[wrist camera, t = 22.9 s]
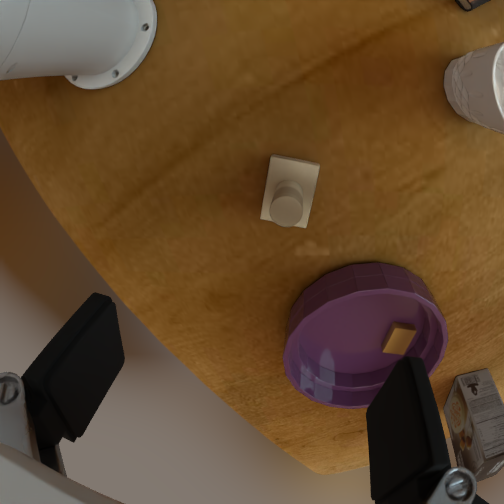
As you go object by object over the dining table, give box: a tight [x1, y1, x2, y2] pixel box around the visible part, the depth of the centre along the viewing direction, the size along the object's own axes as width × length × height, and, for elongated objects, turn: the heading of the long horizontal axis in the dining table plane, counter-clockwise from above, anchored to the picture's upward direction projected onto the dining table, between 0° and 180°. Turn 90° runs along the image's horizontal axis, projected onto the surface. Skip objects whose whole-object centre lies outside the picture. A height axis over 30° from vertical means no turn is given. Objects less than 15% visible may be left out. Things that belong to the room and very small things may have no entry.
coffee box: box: [443, 369, 504, 482], centre depth 31 cm, size 9×6×16 cm
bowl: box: [283, 262, 448, 409], centre depth 33 cm, size 18×18×6 cm
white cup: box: [444, 42, 504, 134], centre depth 17 cm, size 8×8×10 cm
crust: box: [381, 322, 417, 355], centre depth 34 cm, size 3×4×1 cm
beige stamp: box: [260, 154, 320, 228], centre depth 26 cm, size 6×4×8 cm
